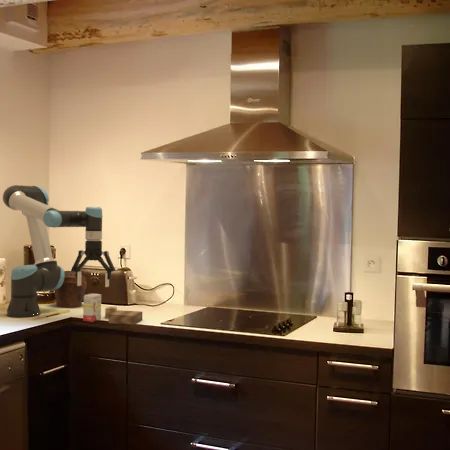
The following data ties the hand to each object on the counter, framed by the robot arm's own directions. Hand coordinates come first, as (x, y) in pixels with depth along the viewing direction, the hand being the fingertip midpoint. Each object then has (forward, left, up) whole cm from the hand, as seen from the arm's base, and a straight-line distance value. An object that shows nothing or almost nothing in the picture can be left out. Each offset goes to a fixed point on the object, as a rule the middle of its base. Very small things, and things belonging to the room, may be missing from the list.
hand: (93, 286), depth 290 cm
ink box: (0, 0, -16) cm, 16 cm away
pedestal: (+16, +1, -16) cm, 22 cm away
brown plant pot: (-27, +35, -16) cm, 47 cm away
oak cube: (+6, +9, -16) cm, 19 cm away
